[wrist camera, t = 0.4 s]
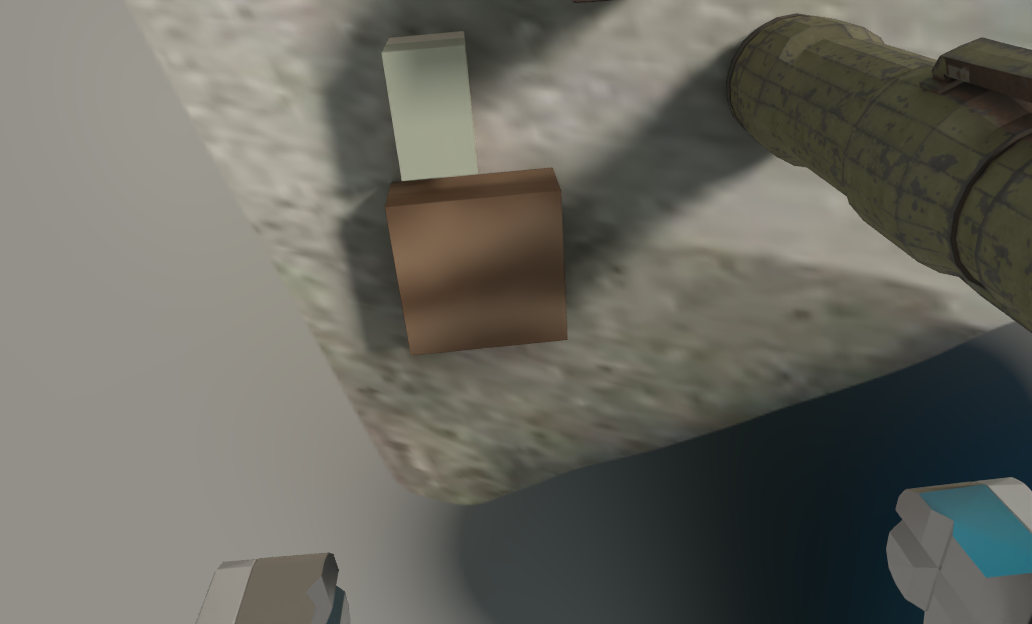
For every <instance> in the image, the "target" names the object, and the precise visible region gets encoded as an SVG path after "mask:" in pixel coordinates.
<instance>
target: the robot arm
mask: <svg viewBox="0 0 1032 624" xmlns="http://www.w3.org/2000/svg"><path fill="white" fill-rule="evenodd" d="M896 511H897V512H898V514H899V515H900V516H901V518H902V519H903V520H902V521H901V522H900V523H899V524H898V525H897V526H896V527H895V528H893V529H892V530H891V531H890V533H889V538H888V543H887V548H886V551H887V557H888V563H889V569H890V571H891V574H892V576H893V578H894V581H895V583H896V585H897V586H898V588H899V590H900V591H901V593H902V594H903V596H904V597H905V599H907V600H908V601H910V602H912V603H913V604H915V605H916V606H918V607H919V608H921V609H923V610H924V611H925V616H924V624H1032V491H1031V490H1030V489H1029V488H1028V487H1027V486H1026V485H1025V484H1024V483H1022V482H1020V481H1018V480H1017V479H1014V478H1012V477H1010V478H1001V479H992V480H983V481H976V482H965V483H956V484H947V485H939V486H931V487H922V488H915V489H906V490H905V491H904V492H903V493H902V494H901V495H900V496H899V499H898V502H897V506H896ZM338 572H339V569H338V566H337V563H336V560H335V557H334V554H332V553H319V554H306V555H293V556H282V557H269V558H259V559H252V560H241V561H229V562H223V563H222V564H221V565H220V566H219V568H218V569H217V570H216V571H215V573H214V575H213V578H212V581H211V583H210V586H209V589H208V591H207V594H206V597H205V600H204V602H203V605H202V607H201V610H200V613H199V615H198V618H197V621H196V624H350V614H349V605H348V601H347V597H346V594H345V591H343V590H342V589H341V588H339V587H338V586H336V584H337V578H338Z"/></svg>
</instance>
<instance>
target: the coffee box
mask: <svg viewBox="0 0 1032 624" xmlns="http://www.w3.org/2000/svg"><path fill="white" fill-rule="evenodd" d="M572 1H573V2H574V3H580V2H596V1H608V0H572Z"/></svg>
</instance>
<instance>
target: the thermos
mask: <svg viewBox="0 0 1032 624" xmlns="http://www.w3.org/2000/svg"><path fill="white" fill-rule="evenodd" d="M727 101H728V104H729V106H730V109H731V112H732V114H733V117H734V118H735V119H736V120H737V121H738V122H739V123H740V125H741V126H742V127H743V128H744V129H745V130H746V131H748V132H749V133H750V135H751V136H752V137H753V138H754V139H755V140H756V141H757V142H758V143H760V144H761V145H762V146H764V147H765V148H766V149H767V150H769V151H770V152H771V153H773V154H774V155H775V156H777V157H778V158H780V159H782V160H784V161H786V162H788V163H790V164H792V165H794V166H801V167H807V168H808V169H810V170H811V171H813V172H814V173H815V174H817V175H818V176H819V177H821V178H822V179H824V180H825V181H826V182H828V183H829V184H830V185H832V186H833V187H835V188H836V189H837V190H839V191H840V192H841V193H843V194H844V195H846V196H847V198H848V201H849V204H850V205H851V206H852V208H853V209H854V210H855V211H856V212H857V214H858V215H859V216H860V217H861V218H862V220H863V221H865V222H866V223H867V224H869V225H870V226H871V227H872V228H874V229H875V230H876V231H878V232H879V233H880V234H882V235H883V236H884V237H886V238H887V239H888V240H890V241H891V242H892V243H894V244H895V245H896V246H898V247H899V248H900V249H902V250H903V251H904V252H906V253H907V254H908V255H909V256H911V257H912V258H913V259H915V260H916V261H917V262H919V263H921V264H923V265H925V266H927V267H929V268H931V269H933V270H935V271H937V272H939V273H943V274H948V275H953V276H957V277H959V278H961V279H962V280H963V281H964V282H965V283H966V284H968V285H969V286H970V287H971V288H972V289H973V290H975V291H976V292H977V293H978V294H979V295H980V296H982V297H983V298H984V299H986V300H987V301H989V302H990V303H991V304H993V305H994V306H995V307H997V308H998V309H999V310H1001V311H1002V312H1004V313H1005V314H1006V315H1008V316H1009V317H1010V318H1012V319H1013V320H1015V321H1016V322H1017V323H1019V324H1020V325H1022V326H1023V327H1024V328H1026V329H1027V330H1028V331H1030V332H1031V333H1032V50H1030V49H1026V48H1021V47H1017V46H1013V45H1009V44H1005V43H1001V42H997V41H993V40H990V39H986V38H979V39H976V40H974V41H971V42H969V43H966V44H964V45H961V46H959V47H957V48H955V49H953V50H951V51H949V52H947V53H945V54H943V55H941V56H940V57H939V58H938V60H935V59H931V58H928V57H925V56H922V55H918V54H915V53H912V52H908V51H905V50H902V49H899V48H895V47H892V46H889V45H886V44H884V42H883V40H882V39H881V37H879V36H877V35H876V34H874V33H872V32H871V31H869V30H867V29H866V28H864V27H861V26H858V25H854V24H850V23H847V22H843V21H840V20H836V19H832V18H825V17H818V16H810V15H803V14H792V15H787V16H782V17H777V18H775V19H773V20H771V21H769V22H768V23H766V24H764V25H762V26H760V27H758V28H757V29H756V30H755V31H754V32H753V33H752V34H751V35H750V36H749V37H748V38H747V39H746V40H745V41H744V42H743V43H742V45H741V47H740V48H739V50H738V52H737V53H736V55H735V57H734V58H733V60H732V63H731V66H730V70H729V73H728V77H727Z"/></svg>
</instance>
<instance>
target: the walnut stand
mask: <svg viewBox="0 0 1032 624" xmlns="http://www.w3.org/2000/svg"><path fill="white" fill-rule="evenodd" d="M385 210H386V216H387V222H388V228H389V233H390V239H391V245H392V250H393V256H394V262H395V268H396V273H397V279H398V285H399V290H400V296H401V302H402V308H403V313H404V319H405V325H406V330H407V336H408V342H409V348H410V353H411V355H421V354H431V353H441V352H451V351H461V350H471V349H481V348H491V347H501V346H511V345H521V344H531V343H541V342H550V341H560V340H568V339H567V316H566V293H565V270H564V247H563V225H562V202H561V189H560V187H559V184H558V181H557V178H556V176H555V173H554V170H553V168H544V169H533V170H522V171H512V172H501V173H490V174H480V175H469V176H459V177H448V178H437V179H427V180H416V181H405V182H395V183H391V185H390V189H389V193H388V197H387V201H386V205H385Z"/></svg>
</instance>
